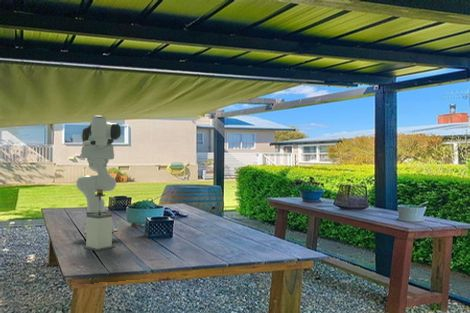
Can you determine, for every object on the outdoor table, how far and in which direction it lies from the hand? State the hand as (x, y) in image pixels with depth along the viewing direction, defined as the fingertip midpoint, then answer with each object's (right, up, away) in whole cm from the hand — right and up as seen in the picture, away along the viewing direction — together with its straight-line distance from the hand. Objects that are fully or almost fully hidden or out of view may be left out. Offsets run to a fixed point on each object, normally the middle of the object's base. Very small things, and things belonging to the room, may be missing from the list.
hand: (97, 166), depth 252 cm
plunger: (+1, -32, -1) cm, 32 cm away
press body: (+1, -47, -1) cm, 47 cm away
